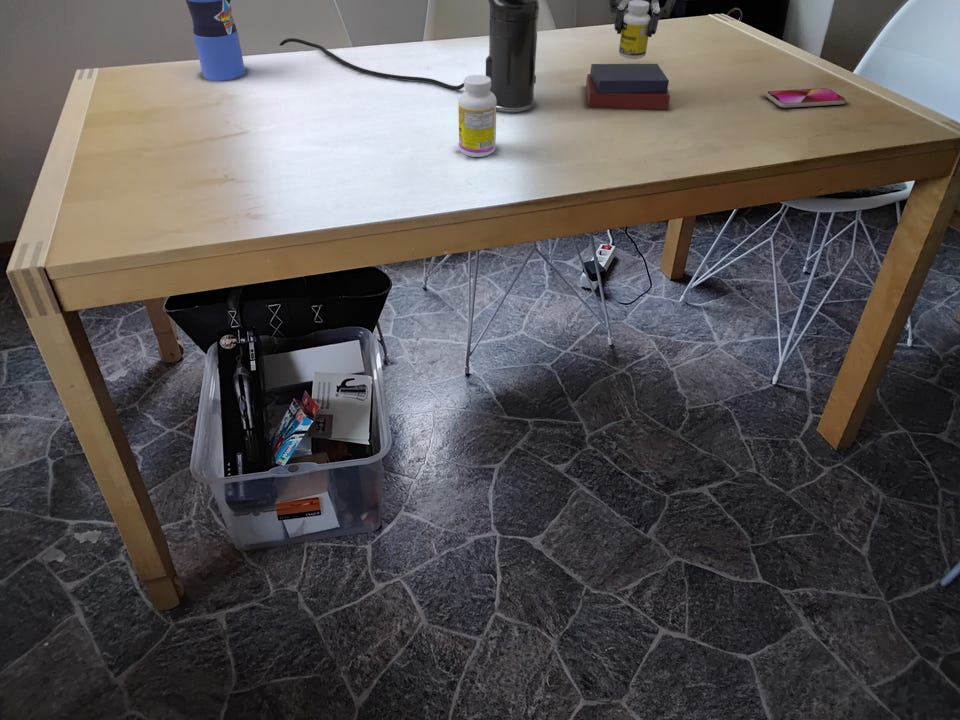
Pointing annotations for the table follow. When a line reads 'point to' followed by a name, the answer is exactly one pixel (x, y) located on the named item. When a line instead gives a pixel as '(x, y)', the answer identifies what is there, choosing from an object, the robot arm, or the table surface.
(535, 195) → the table surface
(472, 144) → the supplement bottle
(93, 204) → the table surface
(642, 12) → the supplement bottle
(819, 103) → the smartphone
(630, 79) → the book stack
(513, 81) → the robot arm
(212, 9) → the water bottle
